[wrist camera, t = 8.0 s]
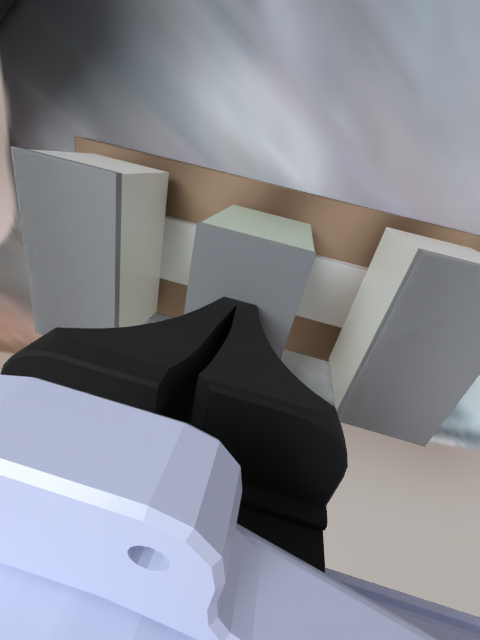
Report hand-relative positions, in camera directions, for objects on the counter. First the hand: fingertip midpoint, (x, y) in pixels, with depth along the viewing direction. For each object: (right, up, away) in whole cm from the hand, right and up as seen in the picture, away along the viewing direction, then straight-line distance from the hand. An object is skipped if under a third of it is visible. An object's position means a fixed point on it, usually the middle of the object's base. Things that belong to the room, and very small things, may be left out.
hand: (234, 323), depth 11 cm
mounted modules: (+1, +3, +5) cm, 6 cm away
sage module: (+1, +3, +5) cm, 6 cm away
